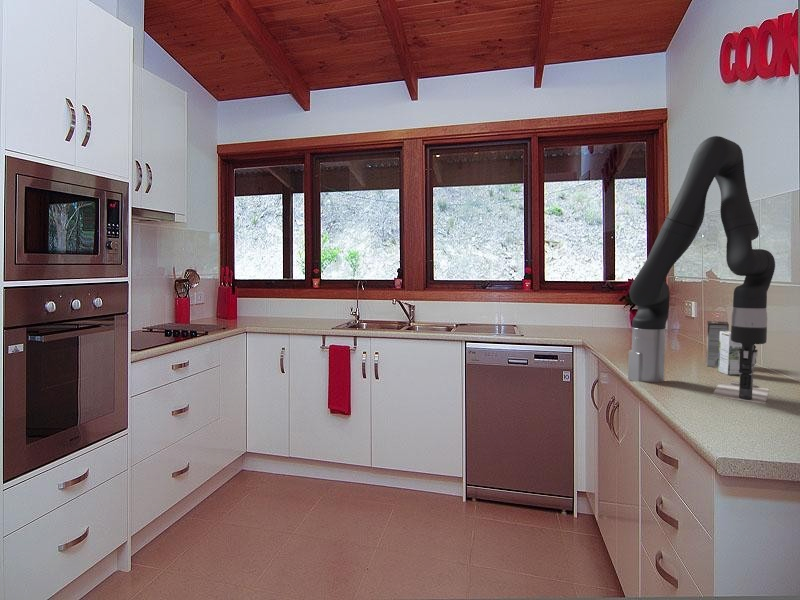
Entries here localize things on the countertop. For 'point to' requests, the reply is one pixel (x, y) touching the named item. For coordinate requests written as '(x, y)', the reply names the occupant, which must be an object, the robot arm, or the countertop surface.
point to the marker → (746, 393)
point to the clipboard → (733, 392)
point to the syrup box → (728, 354)
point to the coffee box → (714, 341)
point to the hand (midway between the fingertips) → (746, 385)
